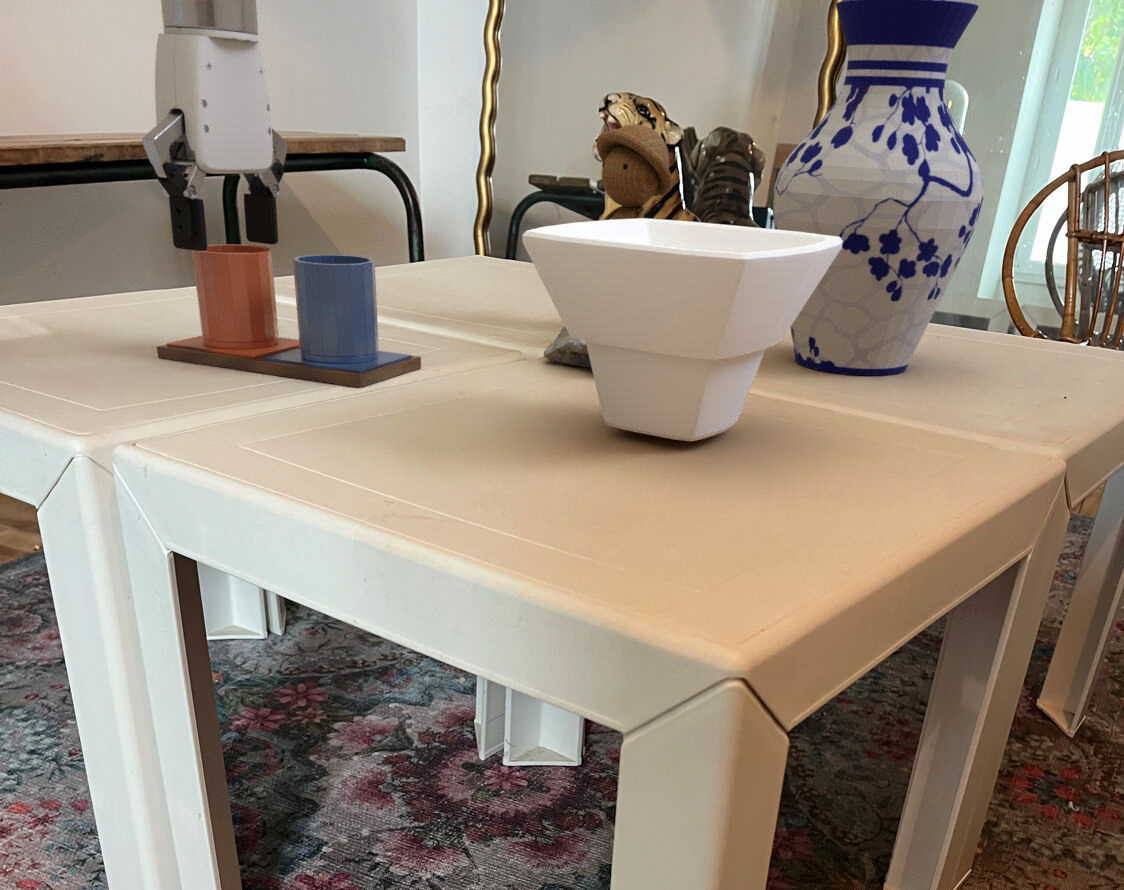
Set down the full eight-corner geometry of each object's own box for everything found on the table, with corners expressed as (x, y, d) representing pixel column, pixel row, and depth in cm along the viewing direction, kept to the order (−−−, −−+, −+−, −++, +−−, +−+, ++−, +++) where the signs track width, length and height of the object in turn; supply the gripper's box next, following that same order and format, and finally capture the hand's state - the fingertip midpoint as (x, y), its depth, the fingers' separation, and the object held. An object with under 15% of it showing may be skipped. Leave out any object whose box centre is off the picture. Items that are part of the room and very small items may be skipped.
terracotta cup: (187, 344, 103) (175, 248, 99) (235, 333, 108) (225, 242, 104) (247, 352, 100) (237, 255, 96) (293, 340, 106) (286, 248, 102)
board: (157, 357, 103) (155, 343, 102) (229, 341, 111) (227, 328, 110) (360, 387, 95) (359, 373, 95) (421, 367, 103) (421, 354, 102)
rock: (531, 347, 107) (598, 264, 107) (570, 388, 111) (635, 309, 110) (587, 370, 99) (661, 280, 98) (627, 414, 103) (698, 328, 102)
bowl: (623, 393, 97) (634, 215, 90) (836, 431, 88) (866, 237, 81) (495, 436, 83) (496, 230, 76) (732, 486, 74) (758, 258, 67)
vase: (973, 364, 114) (1046, 13, 99) (910, 394, 101) (985, -8, 86) (800, 339, 123) (844, 14, 108) (721, 364, 110) (759, -5, 95)
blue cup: (285, 357, 99) (277, 259, 95) (330, 346, 104) (324, 252, 100) (350, 367, 97) (344, 266, 93) (392, 354, 102) (389, 259, 98)
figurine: (572, 326, 125) (581, 121, 115) (620, 321, 129) (632, 123, 119) (628, 340, 119) (641, 124, 109) (675, 334, 123) (693, 126, 113)
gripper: (241, 27, 100) (255, 236, 109) (96, 5, 86) (124, 247, 95) (311, 30, 98) (320, 244, 106) (172, 8, 84) (195, 257, 92)
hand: (228, 245), depth 100 cm, fingers open, 9 cm apart
